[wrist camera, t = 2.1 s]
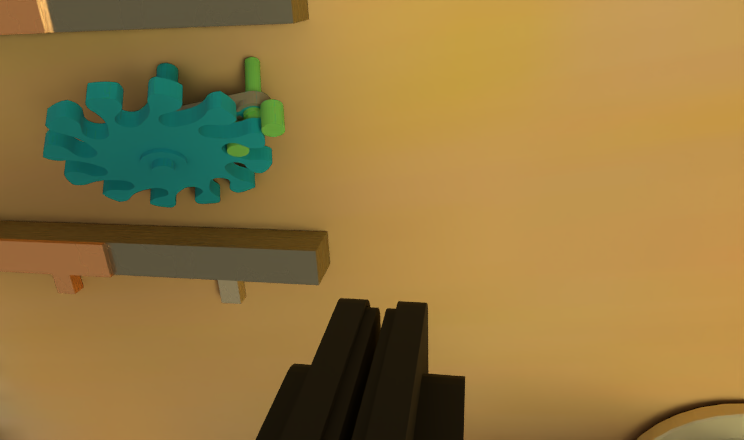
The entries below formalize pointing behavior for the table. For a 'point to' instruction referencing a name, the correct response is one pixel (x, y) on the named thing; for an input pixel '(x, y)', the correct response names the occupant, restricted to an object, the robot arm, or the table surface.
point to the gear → (166, 139)
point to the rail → (157, 243)
